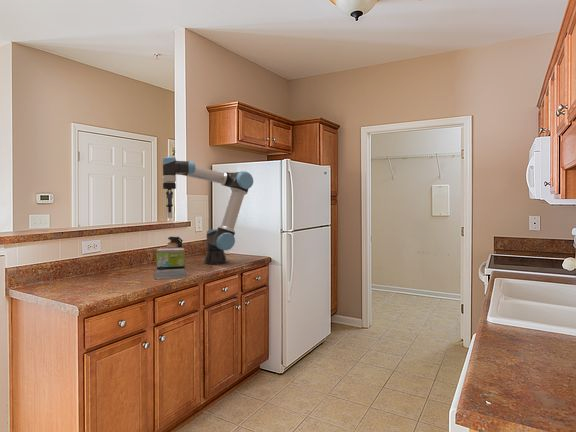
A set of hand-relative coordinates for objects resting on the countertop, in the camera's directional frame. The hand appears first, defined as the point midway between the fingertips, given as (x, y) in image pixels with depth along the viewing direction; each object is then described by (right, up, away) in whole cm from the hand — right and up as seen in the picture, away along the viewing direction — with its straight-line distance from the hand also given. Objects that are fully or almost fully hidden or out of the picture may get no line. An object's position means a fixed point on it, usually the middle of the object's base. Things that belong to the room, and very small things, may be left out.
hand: (169, 217), depth 241 cm
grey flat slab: (+5, -33, -15) cm, 37 cm away
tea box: (+5, -33, -16) cm, 37 cm away
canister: (0, -32, +13) cm, 35 cm away
